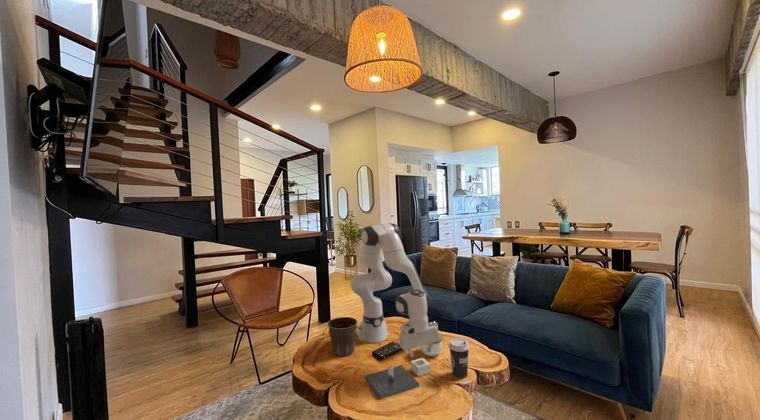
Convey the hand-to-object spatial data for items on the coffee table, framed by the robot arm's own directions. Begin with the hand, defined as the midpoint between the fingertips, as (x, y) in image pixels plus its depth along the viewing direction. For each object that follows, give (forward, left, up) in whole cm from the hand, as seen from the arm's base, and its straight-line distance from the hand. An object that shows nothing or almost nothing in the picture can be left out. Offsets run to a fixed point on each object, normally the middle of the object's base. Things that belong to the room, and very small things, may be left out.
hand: (420, 354), depth 152 cm
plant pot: (-38, -27, -9) cm, 47 cm away
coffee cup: (+10, +14, -9) cm, 20 cm away
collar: (-1, 0, -8) cm, 8 cm away
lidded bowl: (-13, +13, -9) cm, 20 cm away
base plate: (+1, -17, -8) cm, 19 cm away
